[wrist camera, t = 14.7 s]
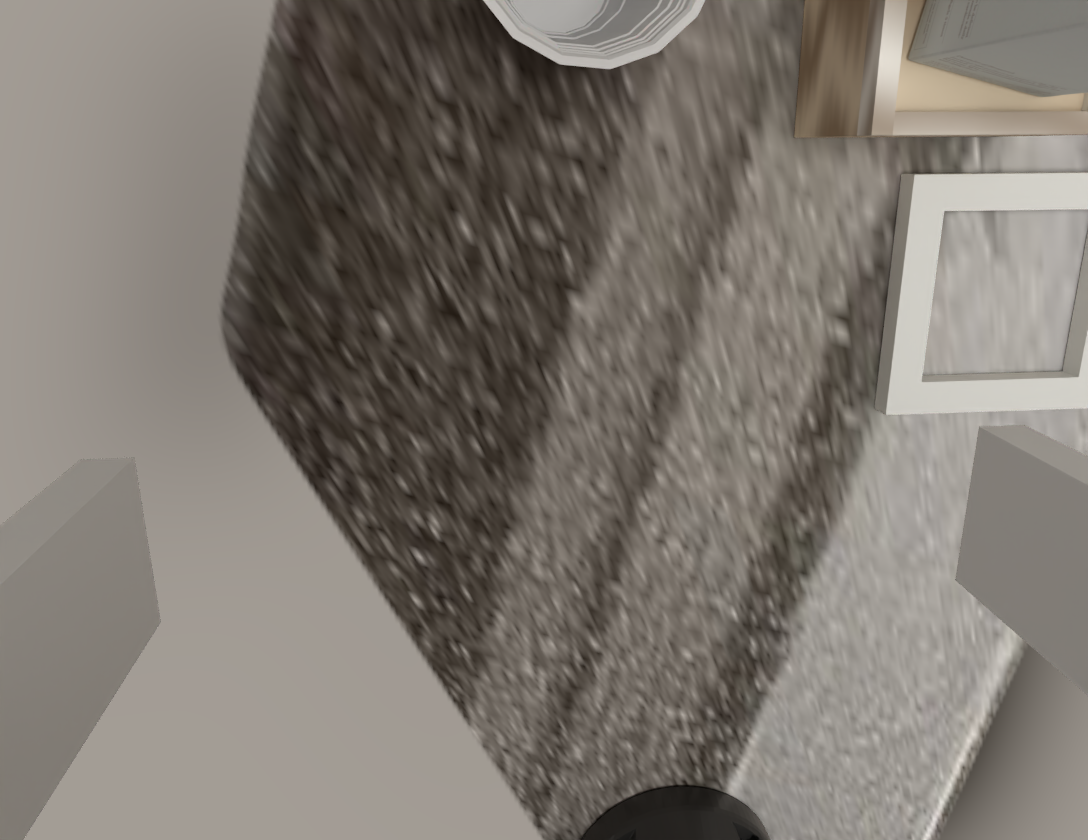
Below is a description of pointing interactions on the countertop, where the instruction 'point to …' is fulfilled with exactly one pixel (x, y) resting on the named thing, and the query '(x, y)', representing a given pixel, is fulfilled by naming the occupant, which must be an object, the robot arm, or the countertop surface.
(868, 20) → the tray
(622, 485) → the countertop surface
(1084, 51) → the supplement box
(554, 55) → the plastic cup
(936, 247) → the white flat square frame
